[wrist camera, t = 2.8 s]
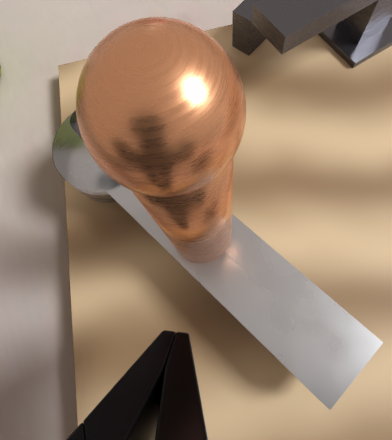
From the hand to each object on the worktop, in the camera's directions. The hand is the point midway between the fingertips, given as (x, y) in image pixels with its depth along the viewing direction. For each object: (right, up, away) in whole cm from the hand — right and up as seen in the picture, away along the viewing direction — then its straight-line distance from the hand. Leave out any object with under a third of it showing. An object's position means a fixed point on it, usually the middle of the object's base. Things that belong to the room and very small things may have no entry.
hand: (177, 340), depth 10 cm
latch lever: (0, +3, +6) cm, 7 cm away
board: (+4, +5, +8) cm, 10 cm away
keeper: (+8, +15, +10) cm, 20 cm away
